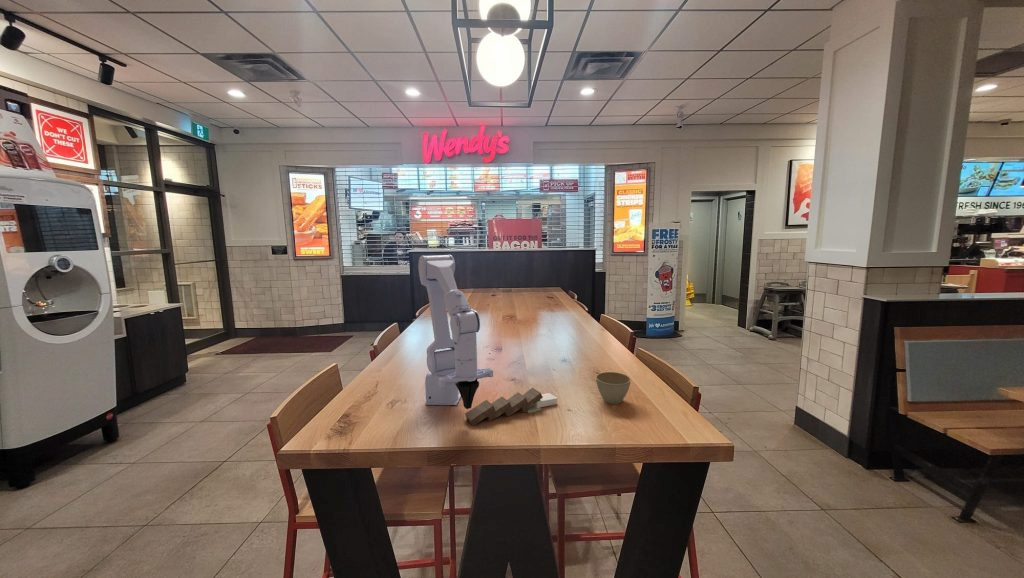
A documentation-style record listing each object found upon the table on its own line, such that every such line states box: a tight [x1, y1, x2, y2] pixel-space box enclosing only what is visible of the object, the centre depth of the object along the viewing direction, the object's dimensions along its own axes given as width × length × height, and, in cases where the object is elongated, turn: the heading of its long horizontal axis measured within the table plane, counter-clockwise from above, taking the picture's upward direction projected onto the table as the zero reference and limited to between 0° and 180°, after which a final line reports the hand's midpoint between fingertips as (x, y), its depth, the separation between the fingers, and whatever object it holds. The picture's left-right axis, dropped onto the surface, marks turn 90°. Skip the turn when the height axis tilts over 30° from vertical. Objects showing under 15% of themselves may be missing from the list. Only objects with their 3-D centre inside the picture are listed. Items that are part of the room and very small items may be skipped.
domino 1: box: [464, 399, 495, 426], centre depth 104 cm, size 2×4×7 cm
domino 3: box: [503, 392, 528, 418], centre depth 109 cm, size 2×4×7 cm
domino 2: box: [485, 396, 511, 422], centre depth 107 cm, size 2×4×7 cm
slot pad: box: [526, 406, 542, 414], centre depth 112 cm, size 4×6×1 cm, turn 28°
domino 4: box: [519, 387, 543, 413], centre depth 111 cm, size 2×4×7 cm
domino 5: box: [533, 392, 558, 408], centre depth 114 cm, size 2×4×7 cm
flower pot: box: [595, 371, 632, 405], centre depth 115 cm, size 10×10×7 cm
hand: (467, 407), depth 102 cm, fingers closed
